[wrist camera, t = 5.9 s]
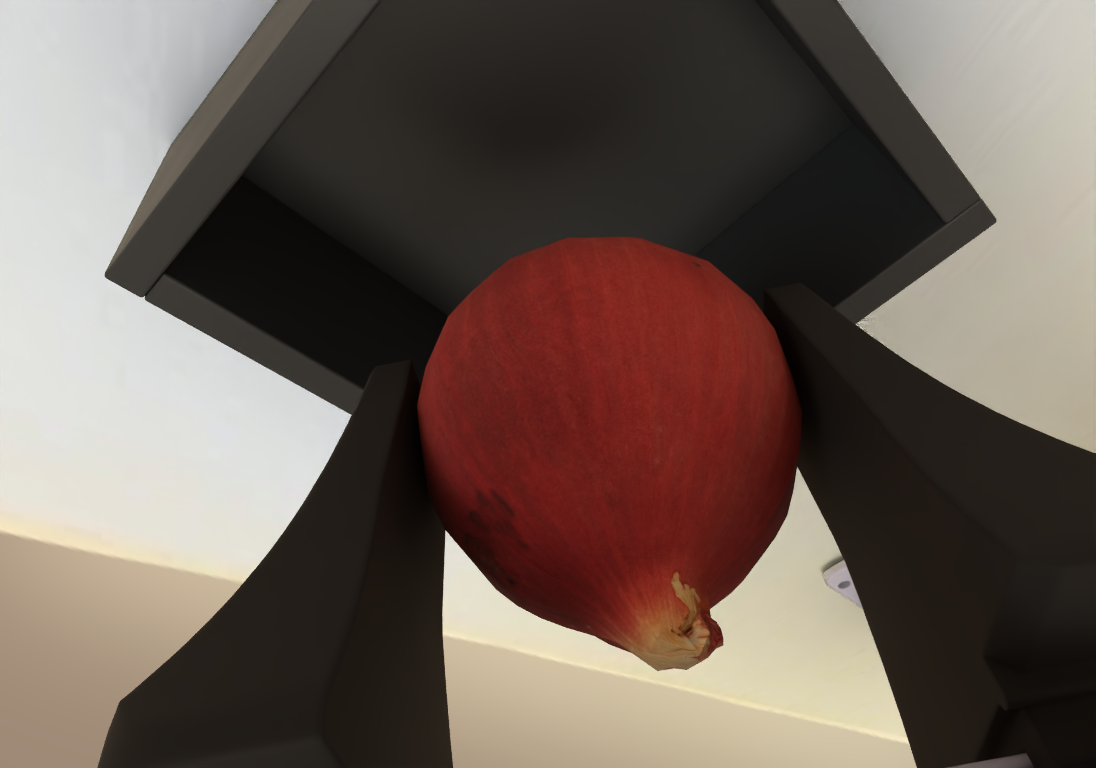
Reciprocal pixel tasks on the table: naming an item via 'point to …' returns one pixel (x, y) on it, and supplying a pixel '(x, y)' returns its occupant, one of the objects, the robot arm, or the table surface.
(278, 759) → the robot arm
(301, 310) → the open storage bin
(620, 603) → the onion
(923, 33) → the table surface
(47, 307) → the table surface
